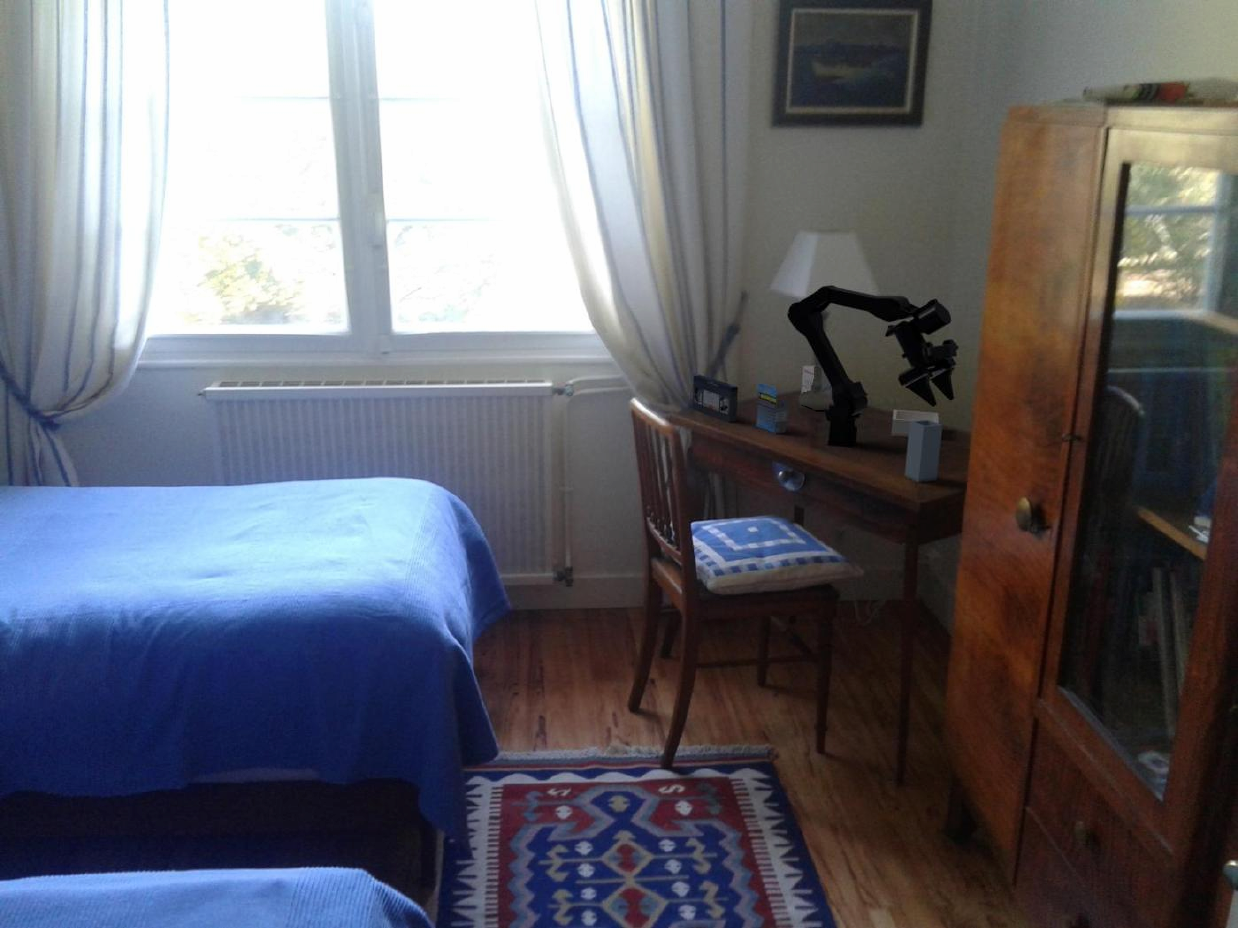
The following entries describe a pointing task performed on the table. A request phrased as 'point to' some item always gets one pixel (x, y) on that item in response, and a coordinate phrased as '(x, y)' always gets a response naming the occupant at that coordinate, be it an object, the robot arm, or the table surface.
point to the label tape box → (771, 410)
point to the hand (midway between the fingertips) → (943, 402)
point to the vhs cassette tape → (715, 398)
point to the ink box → (808, 380)
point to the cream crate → (903, 421)
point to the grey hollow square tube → (923, 450)
